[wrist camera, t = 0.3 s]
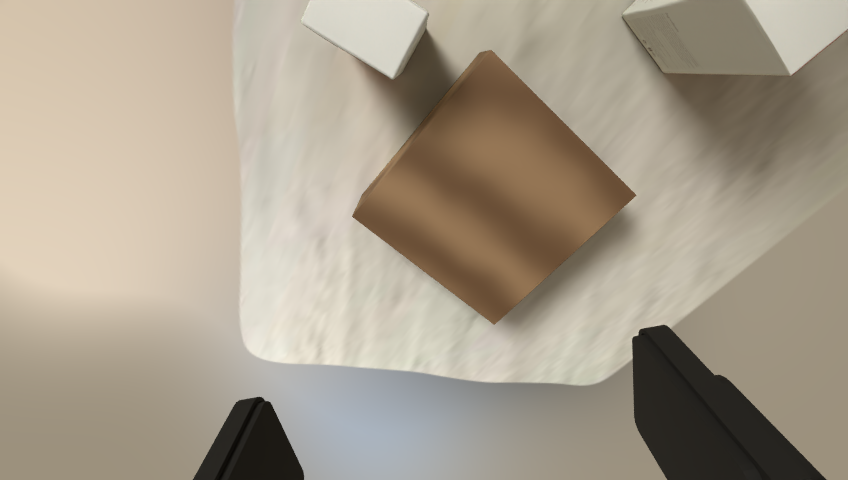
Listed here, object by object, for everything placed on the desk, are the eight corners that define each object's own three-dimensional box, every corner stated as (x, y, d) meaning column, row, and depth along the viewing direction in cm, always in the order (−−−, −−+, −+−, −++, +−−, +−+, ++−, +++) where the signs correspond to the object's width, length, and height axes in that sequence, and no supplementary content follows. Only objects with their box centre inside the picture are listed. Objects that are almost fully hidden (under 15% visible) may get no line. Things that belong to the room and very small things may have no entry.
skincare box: (337, 35, 33) (295, 21, 22) (361, -17, 32) (329, -61, 21) (402, 76, 35) (393, 82, 24) (428, 27, 33) (431, 9, 22)
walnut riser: (479, 52, 34) (491, 50, 28) (605, 176, 38) (636, 195, 32) (362, 194, 39) (351, 216, 33) (485, 291, 43) (494, 324, 37)
